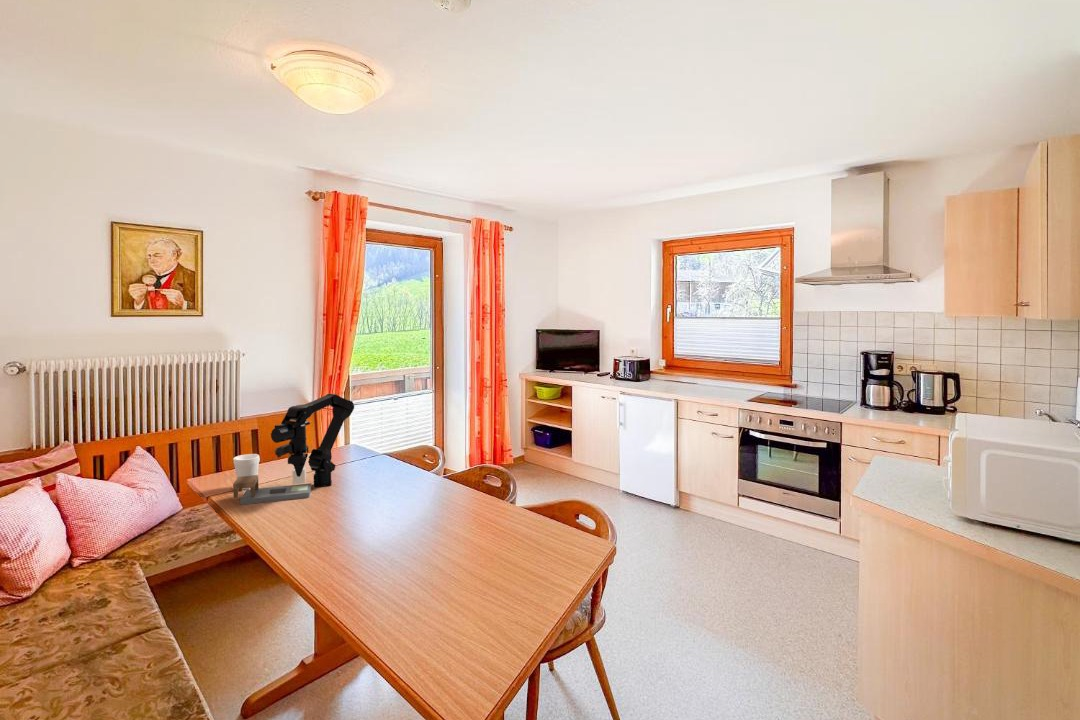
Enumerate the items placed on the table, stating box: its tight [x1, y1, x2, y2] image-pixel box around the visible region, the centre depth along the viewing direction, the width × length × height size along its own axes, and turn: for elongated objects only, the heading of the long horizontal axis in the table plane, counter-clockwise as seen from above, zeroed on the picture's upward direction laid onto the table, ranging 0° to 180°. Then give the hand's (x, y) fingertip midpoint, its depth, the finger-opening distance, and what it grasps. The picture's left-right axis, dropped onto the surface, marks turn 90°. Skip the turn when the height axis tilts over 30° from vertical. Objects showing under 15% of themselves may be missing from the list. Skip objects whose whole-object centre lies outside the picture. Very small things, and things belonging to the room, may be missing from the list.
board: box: [240, 483, 313, 506], centre depth 197 cm, size 24×12×2 cm, turn 111°
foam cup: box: [232, 453, 260, 490], centre depth 207 cm, size 10×9×13 cm
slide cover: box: [232, 474, 259, 500], centre depth 193 cm, size 7×9×6 cm
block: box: [292, 466, 307, 485], centre depth 199 cm, size 4×4×6 cm
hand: (299, 474), depth 199 cm, fingers closed on block, 4 cm apart
